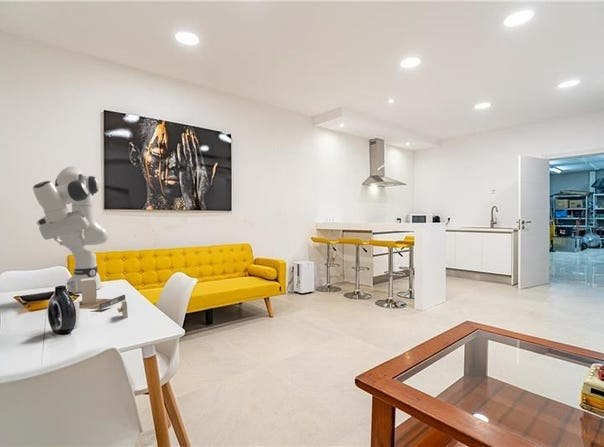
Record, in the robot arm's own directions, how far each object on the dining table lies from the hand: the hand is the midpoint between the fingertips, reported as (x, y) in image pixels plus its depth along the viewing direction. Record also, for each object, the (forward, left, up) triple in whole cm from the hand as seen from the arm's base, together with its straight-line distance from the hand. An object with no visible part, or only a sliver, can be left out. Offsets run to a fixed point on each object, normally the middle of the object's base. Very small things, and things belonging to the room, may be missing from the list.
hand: (73, 241), depth 152 cm
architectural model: (+29, +3, -35) cm, 46 cm away
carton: (-7, +10, -33) cm, 35 cm away
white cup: (+19, -15, -35) cm, 42 cm away
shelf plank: (-1, +9, -35) cm, 36 cm away
